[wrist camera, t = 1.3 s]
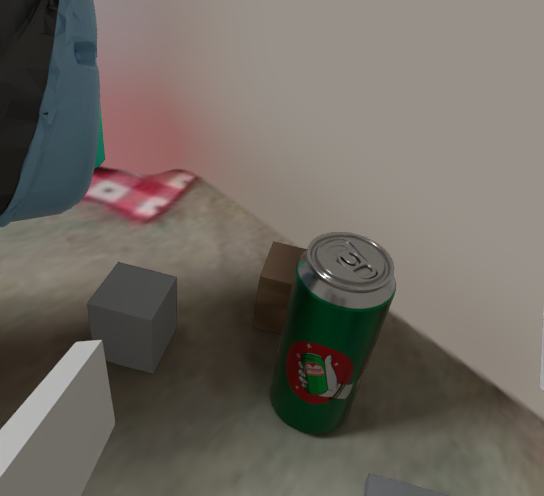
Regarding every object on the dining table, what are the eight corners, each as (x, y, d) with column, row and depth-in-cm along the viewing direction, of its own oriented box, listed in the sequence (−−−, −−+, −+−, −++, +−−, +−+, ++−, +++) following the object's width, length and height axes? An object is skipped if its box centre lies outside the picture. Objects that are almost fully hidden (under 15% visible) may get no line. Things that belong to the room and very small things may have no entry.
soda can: (313, 358, 35) (352, 217, 27) (364, 414, 32) (423, 272, 24) (253, 391, 32) (278, 243, 25) (302, 454, 29) (348, 309, 22)
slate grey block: (94, 358, 32) (86, 303, 29) (122, 315, 36) (118, 261, 32) (153, 374, 32) (151, 320, 29) (176, 329, 35) (177, 277, 32)
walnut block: (252, 327, 36) (260, 276, 33) (265, 291, 39) (273, 241, 36) (306, 341, 36) (319, 291, 33) (314, 303, 39) (327, 254, 36)
